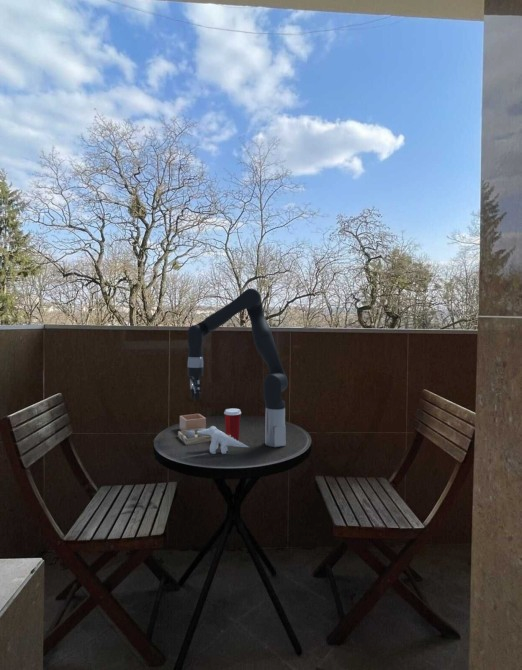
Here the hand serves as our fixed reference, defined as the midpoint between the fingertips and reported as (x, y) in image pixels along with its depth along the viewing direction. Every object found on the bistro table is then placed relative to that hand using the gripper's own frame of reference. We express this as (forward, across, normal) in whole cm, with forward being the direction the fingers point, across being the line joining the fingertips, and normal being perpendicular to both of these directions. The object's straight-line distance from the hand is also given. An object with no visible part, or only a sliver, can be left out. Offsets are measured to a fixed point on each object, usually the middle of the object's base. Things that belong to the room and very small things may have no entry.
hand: (195, 399), depth 175 cm
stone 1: (+18, -3, +3) cm, 19 cm away
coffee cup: (+20, -10, -16) cm, 27 cm away
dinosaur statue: (+20, -23, -8) cm, 31 cm away
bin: (+20, +12, -2) cm, 23 cm away
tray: (+20, -3, 0) cm, 20 cm away
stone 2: (+18, -2, -3) cm, 19 cm away
